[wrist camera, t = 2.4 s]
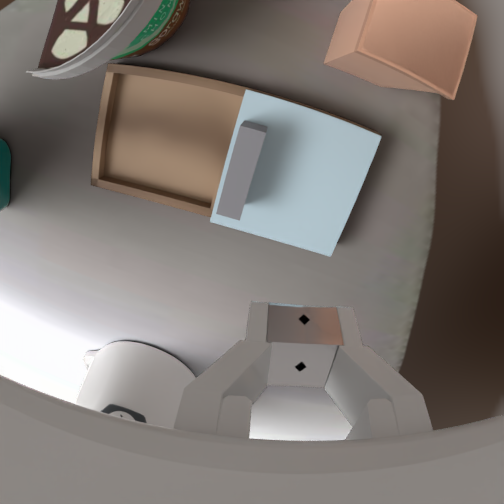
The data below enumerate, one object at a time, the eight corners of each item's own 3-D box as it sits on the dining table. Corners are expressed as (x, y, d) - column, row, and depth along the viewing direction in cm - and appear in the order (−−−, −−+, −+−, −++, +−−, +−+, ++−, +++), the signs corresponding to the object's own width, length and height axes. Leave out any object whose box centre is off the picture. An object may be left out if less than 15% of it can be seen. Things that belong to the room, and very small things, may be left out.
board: (329, 244, 27) (331, 252, 26) (98, 179, 25) (90, 185, 24) (375, 131, 22) (381, 134, 21) (116, 63, 20) (107, 63, 19)
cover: (329, 252, 25) (335, 276, 22) (211, 218, 25) (202, 239, 22) (378, 134, 20) (395, 144, 17) (246, 89, 20) (241, 90, 17)
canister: (381, 89, 20) (453, 100, 11) (320, 64, 20) (357, 50, 10) (398, 35, 18) (477, 15, 8) (339, 10, 17) (384, -38, 8)
